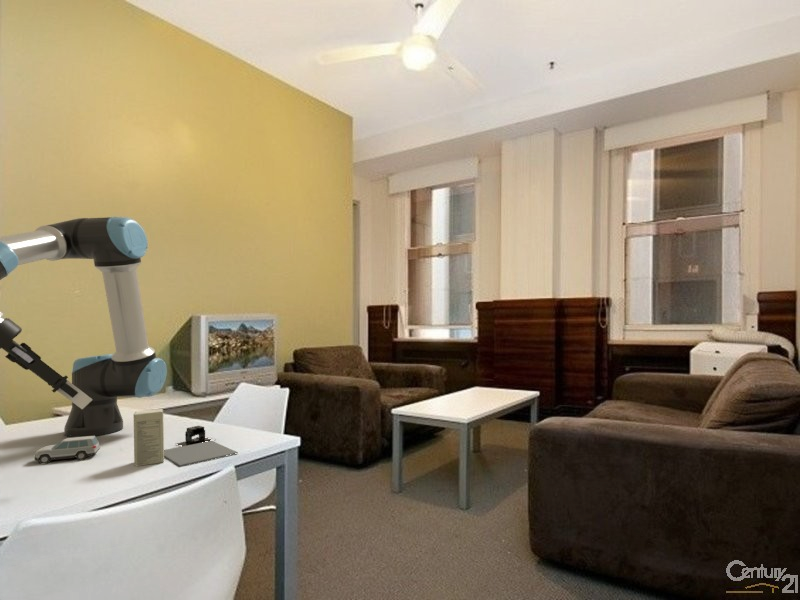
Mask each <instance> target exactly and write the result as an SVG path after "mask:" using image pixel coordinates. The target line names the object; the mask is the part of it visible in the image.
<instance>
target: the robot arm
mask: <svg viewBox="0 0 800 600" xmlns="http://www.w3.org/2000/svg"><path fill="white" fill-rule="evenodd" d="M148 244H149V243H148V238H147V234H146V232H145V230H144V228H143V227H142V225H140V224H139V222H138V221H136V220H135V219H133V218H130V217H127V216H126V217H122V216H111V217H108V216H107V217H90V218H88V217H81V218H75V219H74V218H73V219H69V220H64V221H60V222H55V223H52V224H46V225H40V226H39V227H37V228H36V229H35V230H33V231H27V232H22V233H16V234H10V235H9V234H8V235H4V236H0V281H1V280H2V279H4V278H7V277H8V276H9V274H10V273H12V272H13V271H14V270H16V268H17V267H18V266H21V265H25V264H30V263H34V262H38V261H42V260H43V261H44V260H47V261H53V262H54V261H59V260H67V259H70V260H71V259H73V260H78V259H83V260H93V264H94V267H95V269H97V270H99V271H100V272H101V273H102V279H103V283H104V290H105V296H106V302H107V307H108V308H107V309H108V313H109V319H110V324H111V329H112V337H113V340H114V346H115V352H114V353H109V354H101V355H93V356H88V357H87V356H85V357H80V358H77V359H75V360H74V361H73V364H72V371H71V382H70V381H69V380H68V378H69V377H68V375H64V376H62V375H61V374H60V373H59V372H58V371H56V370H54V369H53V368H52V367H50V366H49V365H48V364H47V363H45V362H44V361H43V360H42V356H41V355H39V354H38V353H36V352H35V351H33V350H32V348H31V347H30V346H29V344H27V343H25V342H21V343H20V344H19V343H18V342H16V341H15V340H14V339H15V338H16V337H18V336H19V335H20V334H21V333H22V332H23V331H22V327H21V326H19V325H18V324H16V323H15V322H14V320H12V319H10V318H9V317H7V318H4V312H3V311H1V310H0V350H1V349H2V350H3V351H5V352H6V353H7V355H5V356H4V357H5V359H7V360H9V361H10V362H12V363H16V364H17V365H18V366H20V367H21V368H22V369H24V370H26V371H27V370H29V371H31V372H32V373H33V374H35V375H36V376H37V377H38V378H40V379H41V380H43V381H44V382H45V383H47V385H48V386H50V387H51V389H52V390H51V392H53V394H54V393H56V392H58V393H59V394H61V395H62V396H63V397H65V399H67V400H69V401H70V402H71V410H70V412H69V414H68V417H67V420H66V423H65V425H64V429H63V431H64V432H63V435H64V436H65V437H68V438H74V437H85V436H95V437H96V436H103V435H107V434H111V433H115V432H118V431H121V430H122V429H124V419H123V417H122V414H121V411H120V408H119V406H118V398H138V399H140V398H147V397H148V398H150V397H154V396H155V395H157V394H158V393H159V392H160V391H161V390H162V388H163V387H164V385H165V382H166V380H167V375H168V374H167V373H168V370H167V364H166V362H165V361H164V359H162V358H159V357H157V355H156V354H157V353H156V350H155V348H153V347H151V346H150V345H149V340H148V333H147V328H146V322H145V315H144V308H143V304H142V303H143V302H142V296H141V290H140V283H139V277H138V272H137V271H138V270H137V269H138V267H139V266H140V265H141V263H142V260H141V258H142V257H144V256H145V255H146V253H147V249H148Z"/></svg>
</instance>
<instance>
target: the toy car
mask: <svg viewBox="0 0 800 600" xmlns="http://www.w3.org/2000/svg"><path fill="white" fill-rule="evenodd" d="M100 450H101V446H100V442H99V440H98V438H97V437H96V436H85V437H66V438H64V439H62V440H61V441H59V442H58V443H56V444H50V445H46V446H43V447H41V448H39V449H38V450H36V451H35V454H34V457H33V458H34V460H35V461H39V463H40V464H41V463H45V464H48V463H50V462H51V461H55V460H64V459H65V460H66V459H67V460H68V459H75V458H76V460H78V461H83V460H85V459H86V458H87V457H90V456H93V455H95V454H97V453H98V452H99V451H100Z"/></svg>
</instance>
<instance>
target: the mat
mask: <svg viewBox="0 0 800 600" xmlns="http://www.w3.org/2000/svg"><path fill="white" fill-rule="evenodd" d="M235 453H239V452H238V451H235V450H233V449H232V448H229V447H227V446H225V445H222V444H220V443H219V442H215V440H214V441H208V442H203V443H197V444H192V445H187V446H182V447H180V446H177V447H172V448H168V449H167V448H166V449H164V459H167V460H168V461H170V462H172V463H173V464H175V465H176V466H178V467H180V468H182V467H184V466H185V467H186V466H190V465H194V463H195V464H199V463H203V462H202V461H204V462H207V460H208V461H212V460H211V459H213V460H216V459H215V458H217V459H219V458H218V457H222V458H224V457H223V456H226V455H230V454H235ZM235 455H236V454H235ZM226 457H227V456H226ZM198 462H199V463H198ZM189 464H190V465H189Z"/></svg>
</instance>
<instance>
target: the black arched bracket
mask: <svg viewBox="0 0 800 600" xmlns="http://www.w3.org/2000/svg"><path fill="white" fill-rule="evenodd" d="M184 435H185V441H181V442H178V443H176V444H178V445H182V446H187V445H192V444H197V443H202V442H205V441H210V440H211V439H212V438H211V439H208V438H209V437H207V438H205V437H206V430H205V426H202V425H196V426H190V427H186V431H185V434H184ZM195 436H197V437H195ZM193 437H195V438H193Z"/></svg>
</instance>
